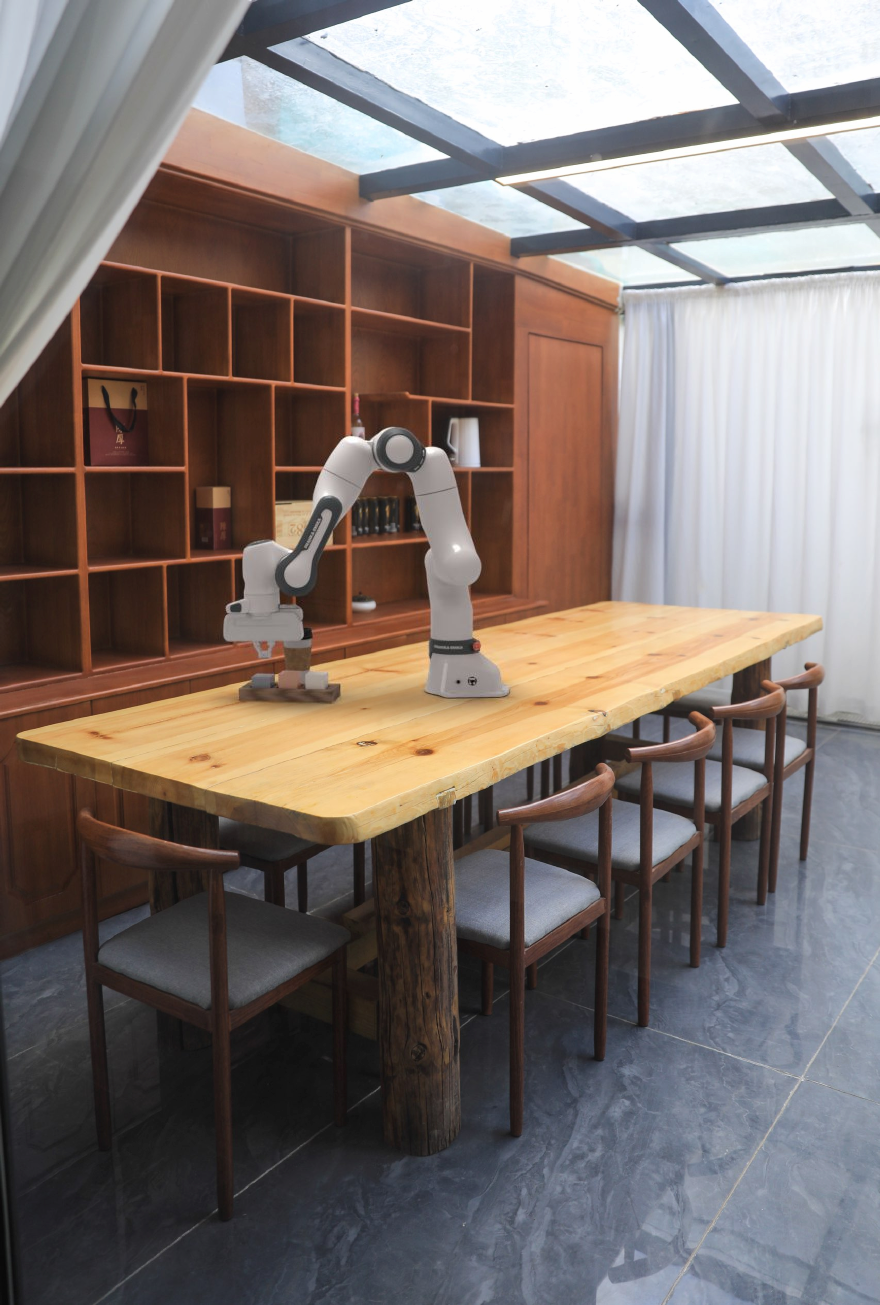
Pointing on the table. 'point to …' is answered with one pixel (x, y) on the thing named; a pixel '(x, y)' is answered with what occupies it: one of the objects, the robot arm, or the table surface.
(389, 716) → the table surface
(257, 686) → the slate key
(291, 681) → the terracotta key
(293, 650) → the coffee cup
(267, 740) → the table surface
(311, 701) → the tray
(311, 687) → the ivory key
